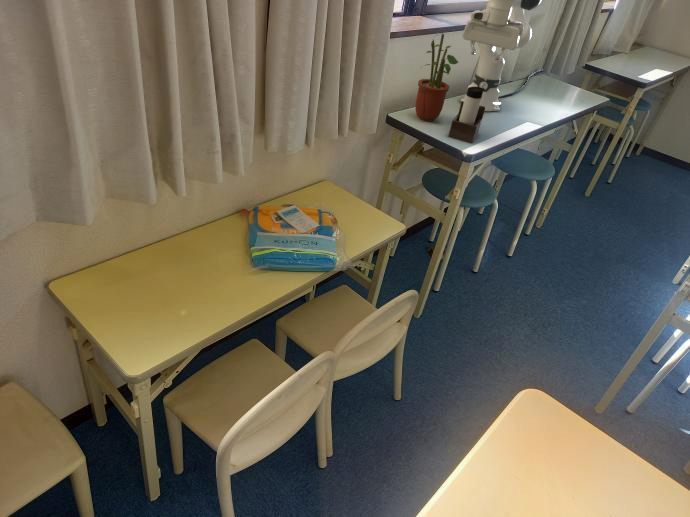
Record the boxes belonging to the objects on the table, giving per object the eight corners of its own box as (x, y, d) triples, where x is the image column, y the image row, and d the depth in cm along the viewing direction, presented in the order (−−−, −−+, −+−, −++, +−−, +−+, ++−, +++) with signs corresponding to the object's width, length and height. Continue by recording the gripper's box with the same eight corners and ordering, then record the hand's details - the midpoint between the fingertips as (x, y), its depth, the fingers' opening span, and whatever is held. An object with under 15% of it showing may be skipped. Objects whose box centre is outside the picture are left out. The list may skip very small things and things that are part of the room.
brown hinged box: (454, 128, 207) (462, 100, 200) (477, 134, 205) (485, 106, 197) (448, 136, 199) (455, 108, 192) (471, 143, 196) (480, 114, 189)
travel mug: (471, 140, 199) (485, 91, 187) (455, 137, 200) (468, 88, 188) (471, 134, 204) (484, 86, 192) (455, 131, 205) (468, 83, 193)
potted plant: (434, 126, 206) (455, 39, 185) (401, 116, 211) (418, 29, 190) (448, 116, 218) (470, 32, 197) (417, 106, 224) (435, 24, 203)
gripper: (526, 21, 174) (513, 61, 182) (471, 10, 180) (461, 49, 188) (524, 24, 169) (511, 65, 178) (467, 12, 175) (457, 52, 183)
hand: (485, 57), depth 183 cm, fingers open, 8 cm apart
